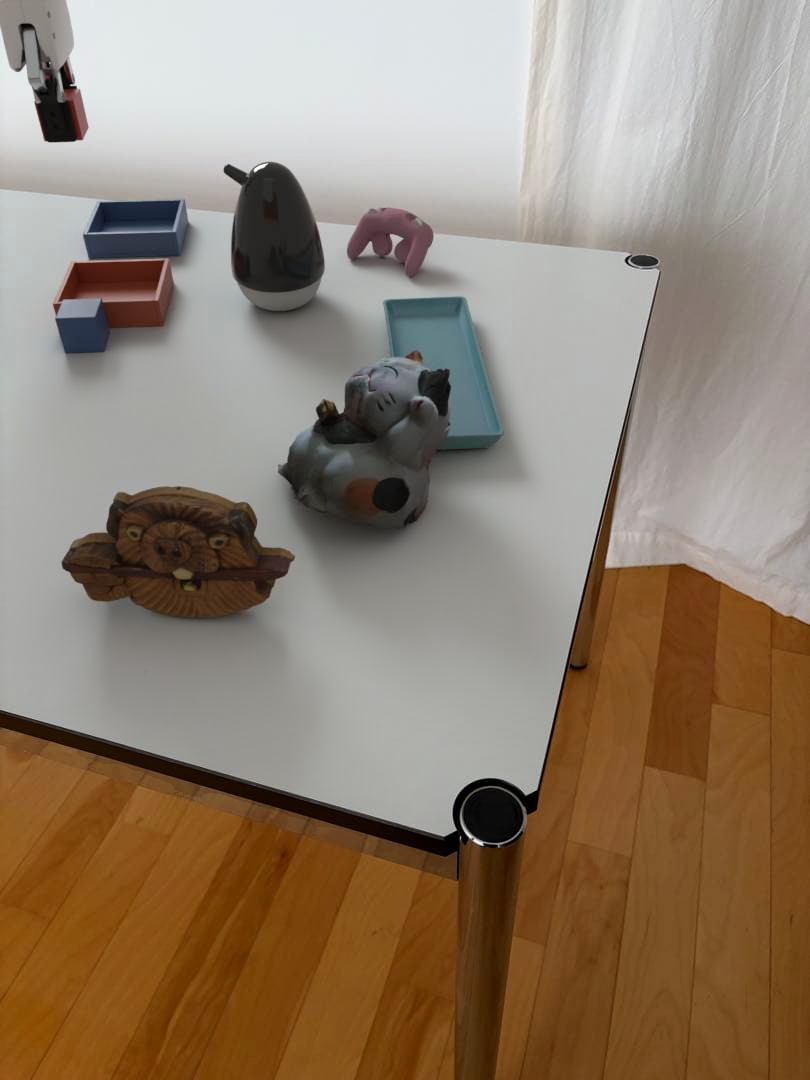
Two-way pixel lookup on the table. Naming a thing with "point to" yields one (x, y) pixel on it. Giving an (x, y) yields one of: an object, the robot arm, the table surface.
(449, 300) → the rectangular tray
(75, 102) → the red block
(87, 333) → the blue block
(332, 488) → the lucky cat figurine
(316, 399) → the table surface
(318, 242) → the pump dispenser
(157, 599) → the wooden carving
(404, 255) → the video game controller
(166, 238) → the blue bin
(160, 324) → the red bin
